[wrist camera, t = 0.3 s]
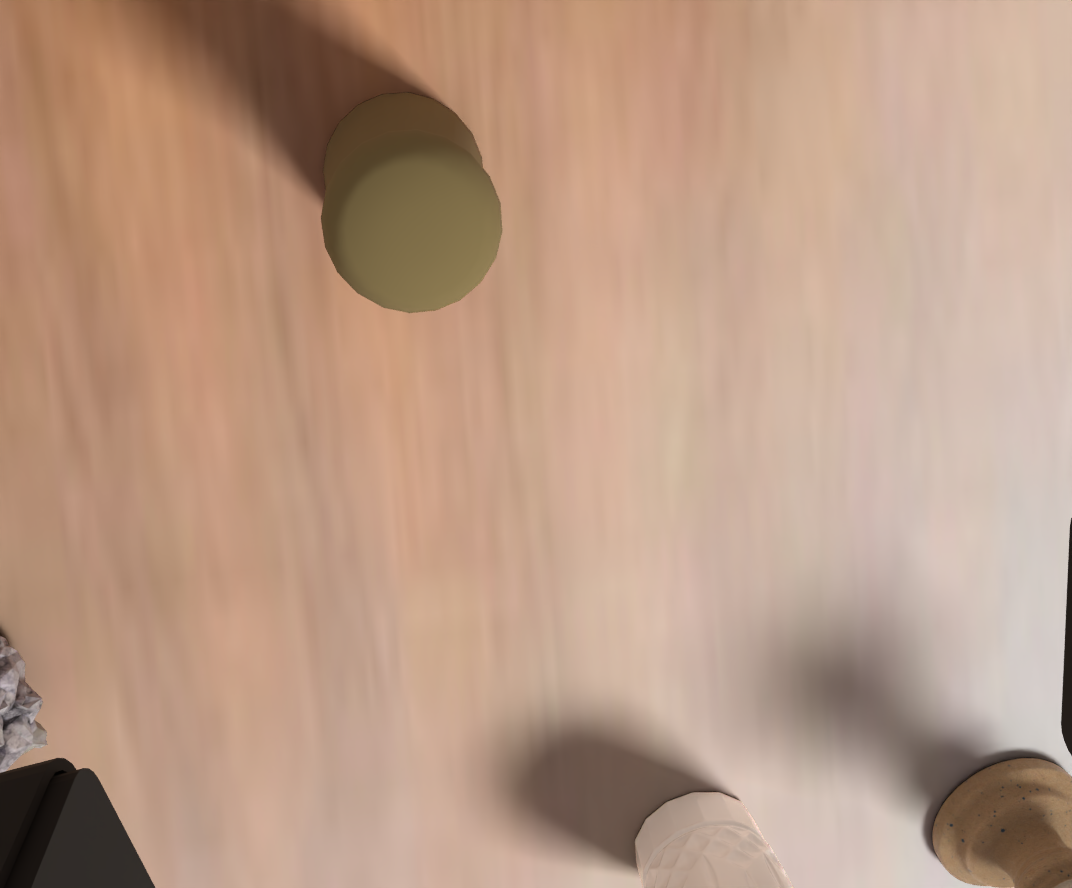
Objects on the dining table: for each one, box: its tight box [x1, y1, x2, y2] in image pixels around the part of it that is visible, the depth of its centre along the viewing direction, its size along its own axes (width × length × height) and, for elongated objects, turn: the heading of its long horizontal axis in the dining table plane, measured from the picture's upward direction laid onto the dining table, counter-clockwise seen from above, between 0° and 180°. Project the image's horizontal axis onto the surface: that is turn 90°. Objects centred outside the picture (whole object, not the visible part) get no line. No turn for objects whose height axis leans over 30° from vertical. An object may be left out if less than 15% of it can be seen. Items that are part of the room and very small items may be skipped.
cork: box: [321, 92, 502, 313], centre depth 31 cm, size 6×6×11 cm
